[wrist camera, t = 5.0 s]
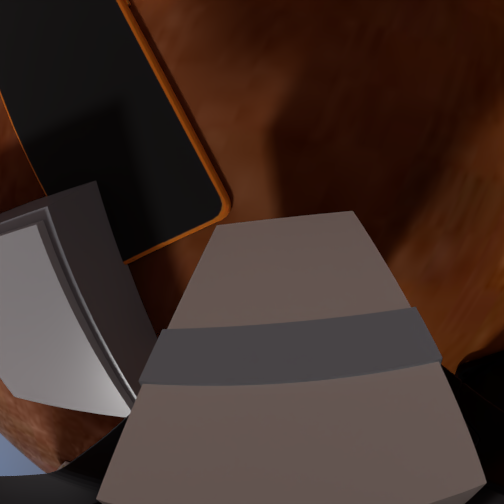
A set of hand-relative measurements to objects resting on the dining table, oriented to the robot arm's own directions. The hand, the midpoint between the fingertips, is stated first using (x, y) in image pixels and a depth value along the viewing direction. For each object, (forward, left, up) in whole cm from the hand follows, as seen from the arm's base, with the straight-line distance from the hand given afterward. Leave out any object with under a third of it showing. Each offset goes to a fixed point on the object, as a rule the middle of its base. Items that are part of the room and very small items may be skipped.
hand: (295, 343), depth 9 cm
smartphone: (+8, -10, -5) cm, 13 cm away
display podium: (+12, 0, -5) cm, 13 cm away
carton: (0, 0, -2) cm, 2 cm away
